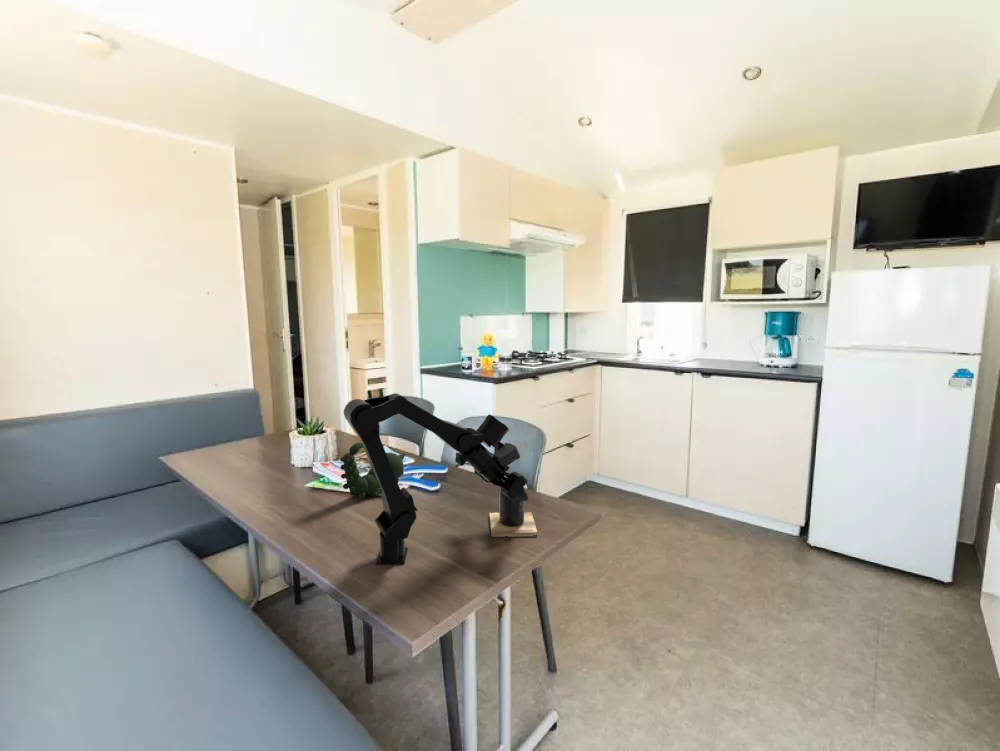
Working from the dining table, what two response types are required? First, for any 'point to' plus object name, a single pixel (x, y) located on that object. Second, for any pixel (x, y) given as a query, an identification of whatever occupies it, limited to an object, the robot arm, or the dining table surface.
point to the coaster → (521, 530)
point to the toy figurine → (369, 481)
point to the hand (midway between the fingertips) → (517, 493)
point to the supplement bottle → (510, 511)
